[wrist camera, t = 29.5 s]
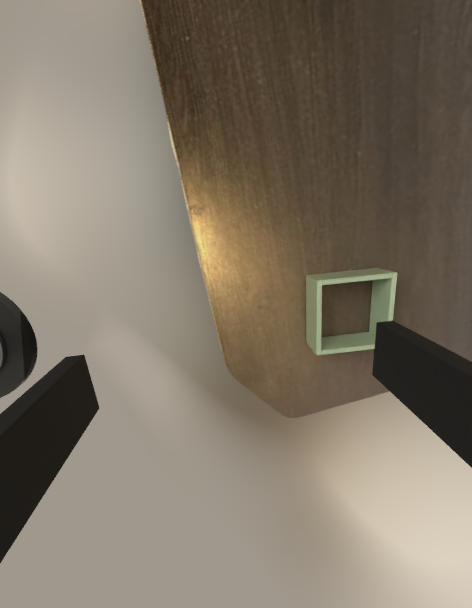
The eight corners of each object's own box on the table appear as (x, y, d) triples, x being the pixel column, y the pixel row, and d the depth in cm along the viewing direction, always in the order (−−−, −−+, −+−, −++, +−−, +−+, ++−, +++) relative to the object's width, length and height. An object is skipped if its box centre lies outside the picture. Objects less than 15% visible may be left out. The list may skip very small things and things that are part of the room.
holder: (306, 342, 47) (316, 355, 42) (305, 274, 44) (316, 280, 39) (372, 335, 48) (390, 347, 43) (377, 267, 44) (397, 272, 39)
